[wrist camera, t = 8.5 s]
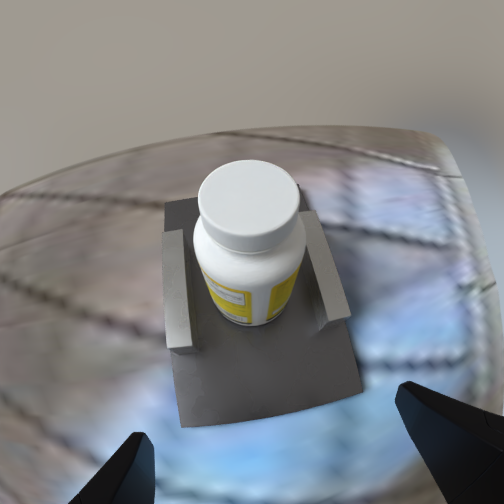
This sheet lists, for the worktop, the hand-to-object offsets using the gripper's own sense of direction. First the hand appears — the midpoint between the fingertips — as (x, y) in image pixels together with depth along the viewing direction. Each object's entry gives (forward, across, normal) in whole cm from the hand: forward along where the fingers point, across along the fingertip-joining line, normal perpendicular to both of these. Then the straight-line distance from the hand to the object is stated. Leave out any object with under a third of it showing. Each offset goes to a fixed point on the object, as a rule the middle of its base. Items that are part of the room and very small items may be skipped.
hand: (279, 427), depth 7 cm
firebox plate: (+13, 0, 0) cm, 13 cm away
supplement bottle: (+12, 0, 0) cm, 12 cm away
